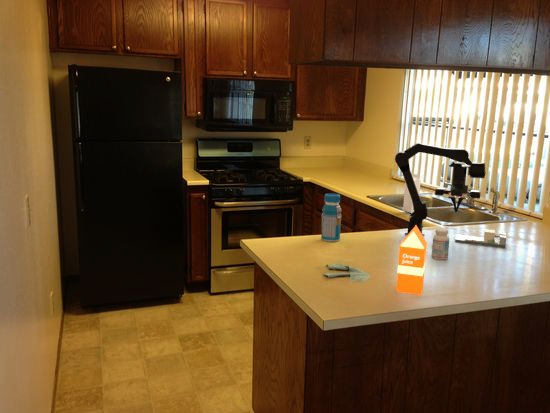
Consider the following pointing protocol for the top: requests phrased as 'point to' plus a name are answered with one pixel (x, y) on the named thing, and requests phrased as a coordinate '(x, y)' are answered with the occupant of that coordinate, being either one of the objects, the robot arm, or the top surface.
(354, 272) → the cloth
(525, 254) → the top surface
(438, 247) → the pill bottle
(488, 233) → the white square block
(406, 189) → the milk
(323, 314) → the top surface
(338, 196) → the beverage bottle
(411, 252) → the orange juice
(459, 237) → the gauge base
